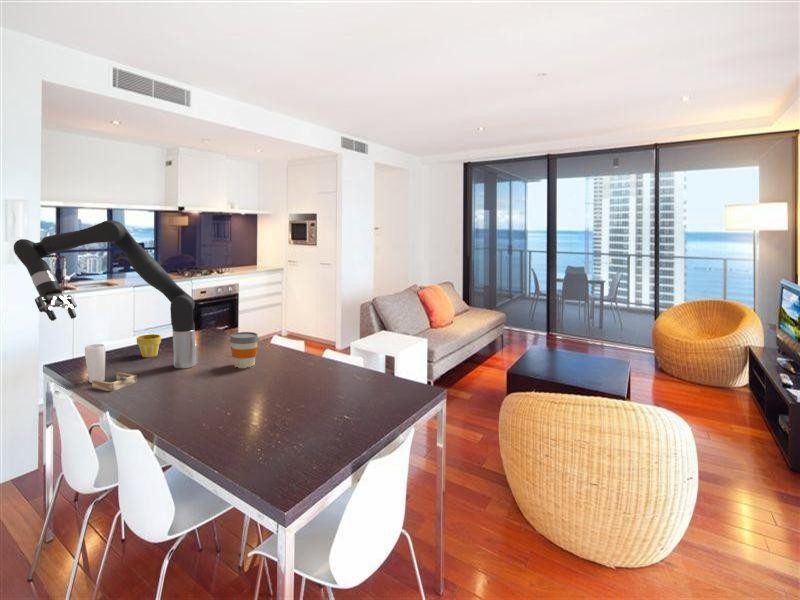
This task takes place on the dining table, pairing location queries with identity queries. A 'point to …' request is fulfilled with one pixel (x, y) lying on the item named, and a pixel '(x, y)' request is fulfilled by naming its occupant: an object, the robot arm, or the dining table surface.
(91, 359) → the drinking glass
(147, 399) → the dining table surface
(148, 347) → the plant pot
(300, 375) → the dining table surface
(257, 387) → the dining table surface
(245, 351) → the reusable coffee cup
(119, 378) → the oak dock
